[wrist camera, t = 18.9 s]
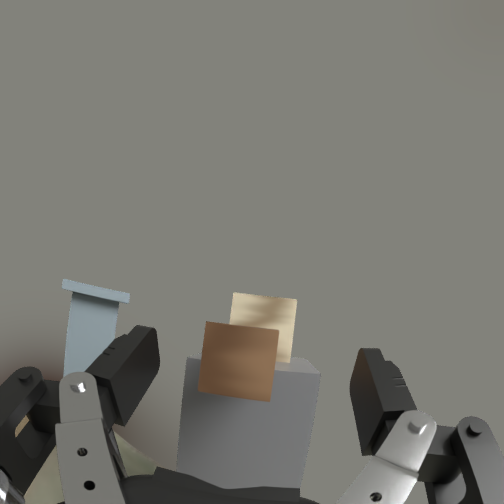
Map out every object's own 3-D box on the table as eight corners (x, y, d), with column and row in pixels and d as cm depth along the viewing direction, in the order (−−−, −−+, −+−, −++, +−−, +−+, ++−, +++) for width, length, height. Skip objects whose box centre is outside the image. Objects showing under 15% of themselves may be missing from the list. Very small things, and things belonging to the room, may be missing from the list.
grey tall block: (268, 592, 14) (320, 374, 20) (173, 576, 15) (187, 357, 21) (272, 536, 25) (305, 358, 32) (198, 526, 26) (217, 348, 33)
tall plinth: (55, 464, 31) (63, 278, 38) (63, 437, 41) (74, 283, 49) (117, 475, 35) (130, 293, 43) (115, 446, 46) (128, 295, 53)
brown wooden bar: (163, 383, 11) (183, 247, 13) (234, 350, 33) (241, 298, 34) (306, 405, 11) (323, 261, 12) (287, 356, 32) (293, 304, 33)
